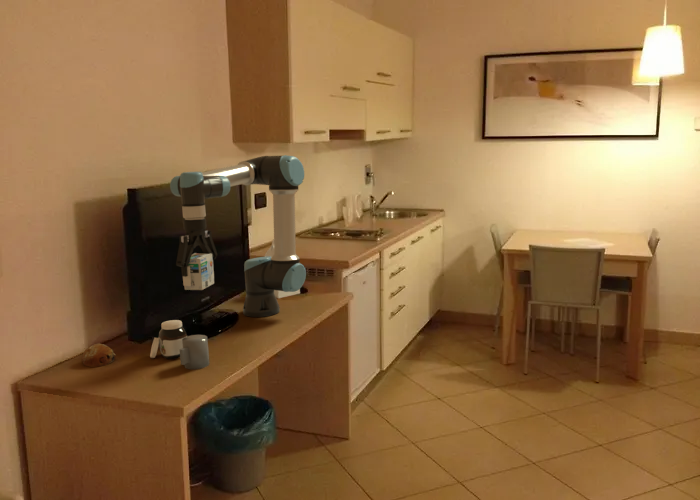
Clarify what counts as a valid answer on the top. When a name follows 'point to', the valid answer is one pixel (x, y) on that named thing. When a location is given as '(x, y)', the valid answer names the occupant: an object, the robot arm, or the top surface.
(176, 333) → the spread jar
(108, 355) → the bread roll
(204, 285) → the light bulb box
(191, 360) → the grey mug
